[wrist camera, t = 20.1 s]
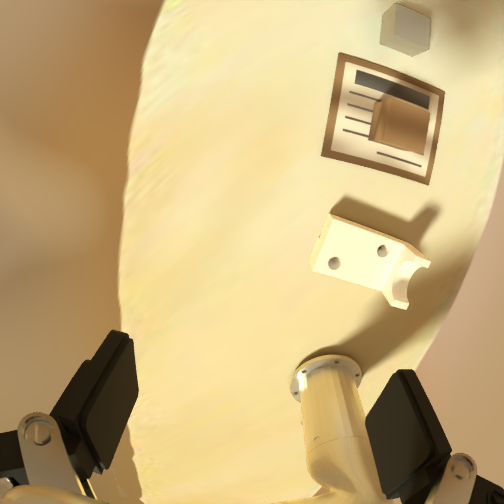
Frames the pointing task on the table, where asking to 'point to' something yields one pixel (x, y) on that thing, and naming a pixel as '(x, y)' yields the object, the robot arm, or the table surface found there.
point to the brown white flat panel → (360, 115)
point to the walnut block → (399, 125)
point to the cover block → (405, 30)
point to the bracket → (367, 258)
